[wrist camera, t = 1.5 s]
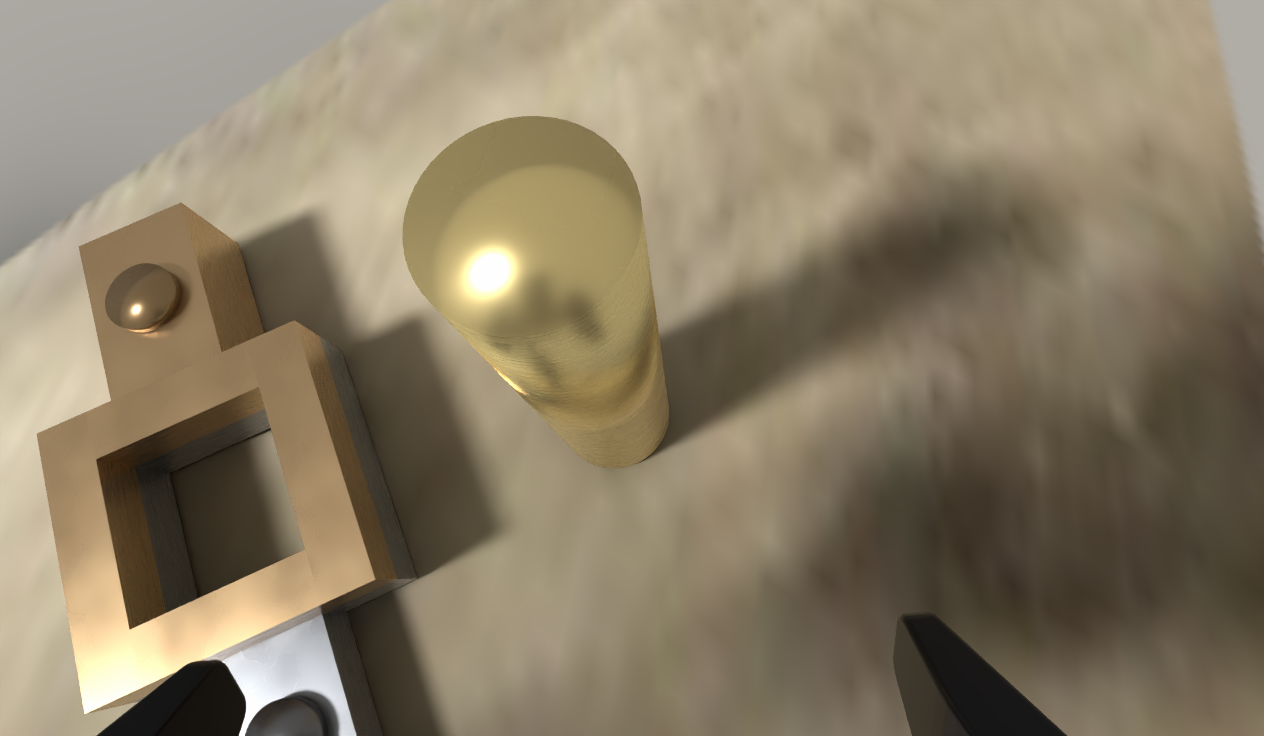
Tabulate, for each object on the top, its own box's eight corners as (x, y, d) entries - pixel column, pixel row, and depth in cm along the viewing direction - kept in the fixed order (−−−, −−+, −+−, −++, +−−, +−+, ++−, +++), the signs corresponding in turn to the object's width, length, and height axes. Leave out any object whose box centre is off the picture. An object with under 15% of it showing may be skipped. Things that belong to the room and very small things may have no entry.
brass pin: (687, 439, 22) (682, 269, 10) (586, 486, 22) (449, 375, 10) (641, 344, 23) (584, 81, 11) (544, 388, 23) (371, 174, 11)
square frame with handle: (530, 920, 19) (497, 994, 15) (243, 1062, 18) (146, 1168, 15) (297, 218, 26) (241, 166, 22) (86, 309, 25) (-3, 271, 22)
